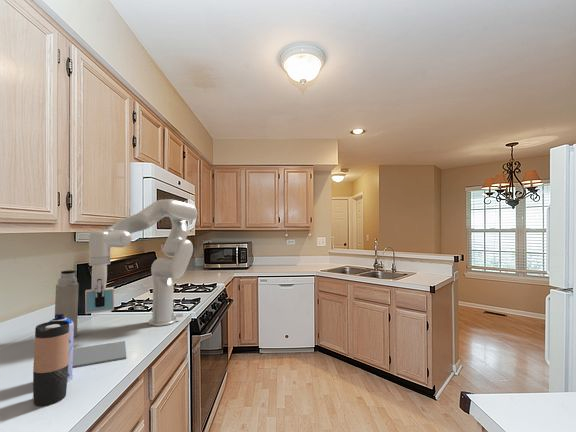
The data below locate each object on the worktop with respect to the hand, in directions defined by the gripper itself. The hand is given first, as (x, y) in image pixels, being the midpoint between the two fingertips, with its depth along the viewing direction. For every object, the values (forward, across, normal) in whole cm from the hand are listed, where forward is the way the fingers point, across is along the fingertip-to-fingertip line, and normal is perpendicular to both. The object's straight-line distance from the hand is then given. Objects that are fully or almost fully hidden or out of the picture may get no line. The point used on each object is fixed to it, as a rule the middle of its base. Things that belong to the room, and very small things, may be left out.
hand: (100, 305), depth 129 cm
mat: (+14, +16, -2) cm, 21 cm away
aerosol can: (+14, +33, -10) cm, 37 cm away
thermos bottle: (+15, -12, -13) cm, 23 cm away
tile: (+3, 0, 0) cm, 3 cm away
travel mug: (+14, +45, -10) cm, 48 cm away
